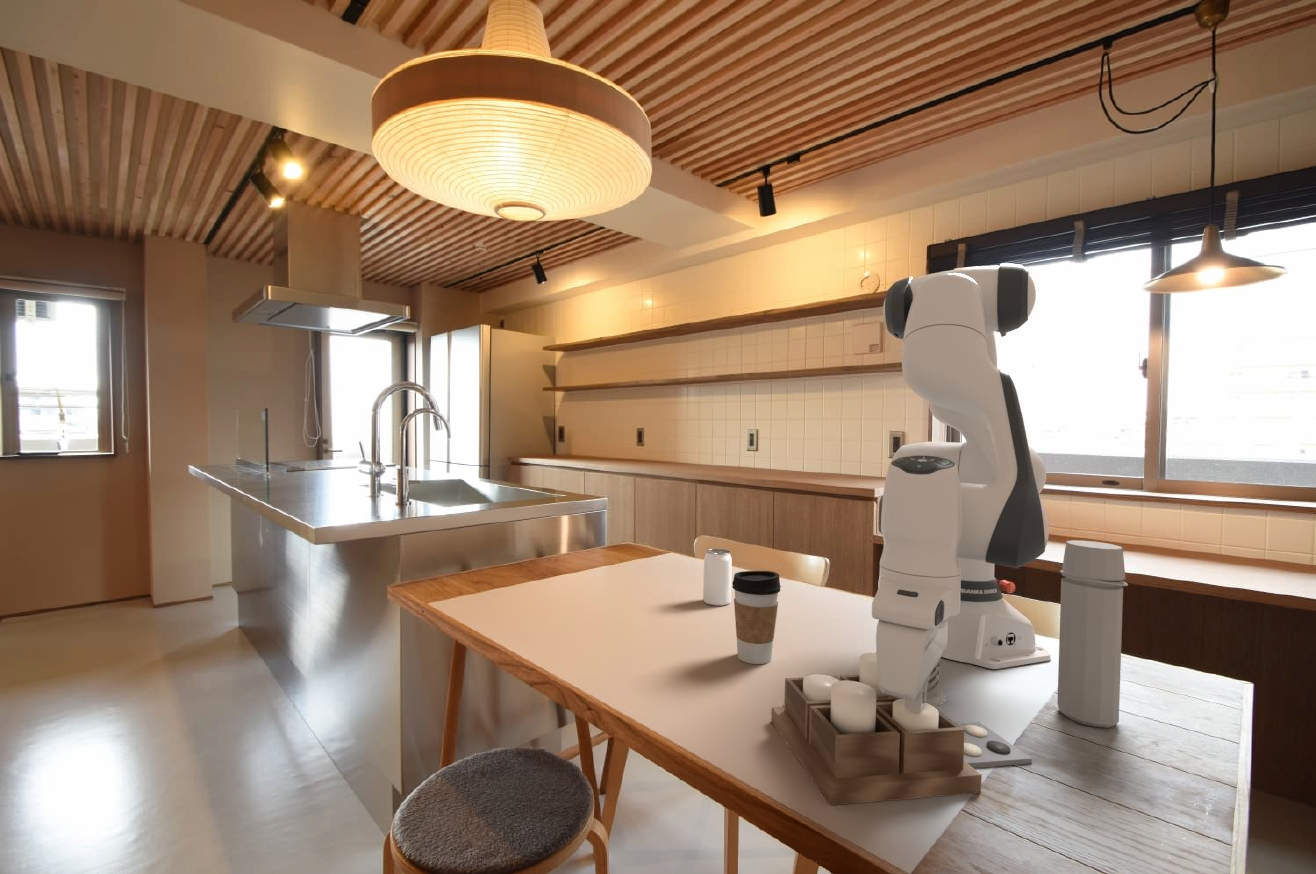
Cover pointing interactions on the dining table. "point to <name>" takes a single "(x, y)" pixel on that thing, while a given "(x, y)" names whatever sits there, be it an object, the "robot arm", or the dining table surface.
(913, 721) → the button
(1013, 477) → the robot arm
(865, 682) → the button
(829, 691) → the button
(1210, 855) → the dining table surface
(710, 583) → the can
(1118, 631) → the water bottle
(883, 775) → the button board
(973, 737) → the pattern card
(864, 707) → the button
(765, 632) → the coffee cup
